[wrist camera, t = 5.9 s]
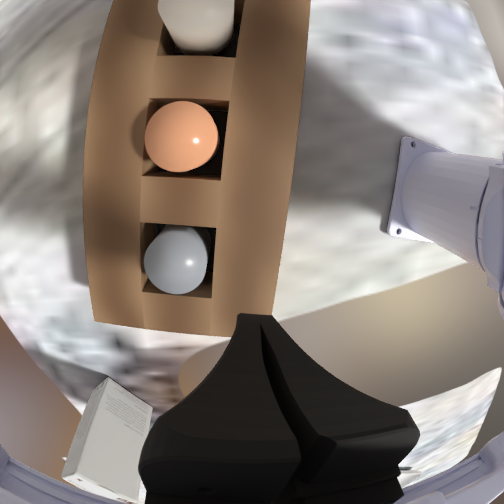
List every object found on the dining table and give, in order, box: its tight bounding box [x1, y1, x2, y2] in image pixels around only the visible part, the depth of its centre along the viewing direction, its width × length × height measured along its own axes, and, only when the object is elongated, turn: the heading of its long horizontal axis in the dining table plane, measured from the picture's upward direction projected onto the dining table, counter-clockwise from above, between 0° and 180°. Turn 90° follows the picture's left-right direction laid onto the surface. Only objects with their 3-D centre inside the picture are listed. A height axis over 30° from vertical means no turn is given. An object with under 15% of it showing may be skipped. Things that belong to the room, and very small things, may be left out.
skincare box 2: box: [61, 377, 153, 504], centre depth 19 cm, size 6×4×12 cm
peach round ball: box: [145, 101, 220, 172], centre depth 15 cm, size 4×4×4 cm
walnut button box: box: [83, 0, 311, 337], centre depth 16 cm, size 12×24×4 cm, turn 173°
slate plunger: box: [144, 224, 211, 294], centre depth 18 cm, size 4×4×4 cm
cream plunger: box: [158, 0, 234, 56], centre depth 11 cm, size 4×4×4 cm
